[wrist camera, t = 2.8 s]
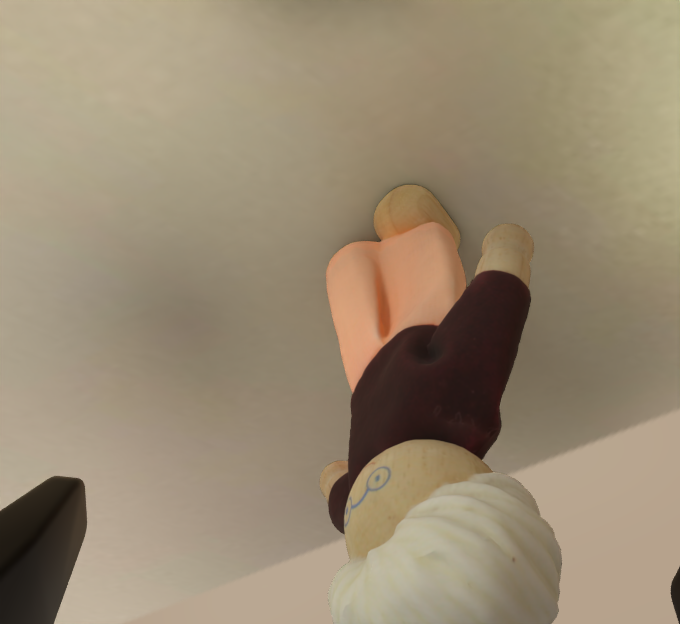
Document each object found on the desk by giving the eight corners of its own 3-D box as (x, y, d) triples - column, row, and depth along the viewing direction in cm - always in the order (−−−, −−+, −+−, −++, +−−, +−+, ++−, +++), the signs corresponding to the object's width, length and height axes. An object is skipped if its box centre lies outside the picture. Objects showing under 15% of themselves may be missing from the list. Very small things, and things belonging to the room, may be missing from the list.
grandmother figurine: (370, 131, 17) (415, 370, 6) (498, 174, 17) (785, 478, 6) (292, 360, 20) (220, 813, 9) (402, 391, 21) (470, 860, 9)
